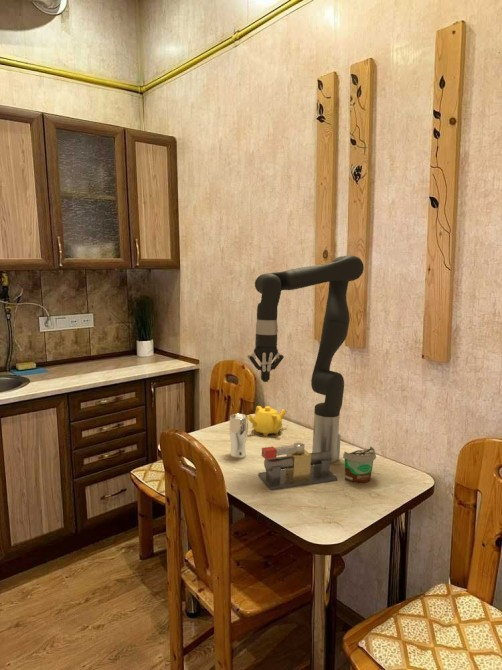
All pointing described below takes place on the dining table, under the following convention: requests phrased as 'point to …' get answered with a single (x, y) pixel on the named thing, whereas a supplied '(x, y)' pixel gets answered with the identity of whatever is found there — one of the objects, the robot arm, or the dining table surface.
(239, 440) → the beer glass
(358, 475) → the food container
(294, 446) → the valve lever
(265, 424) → the teapot
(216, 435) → the dining table surface
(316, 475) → the valve pipe
